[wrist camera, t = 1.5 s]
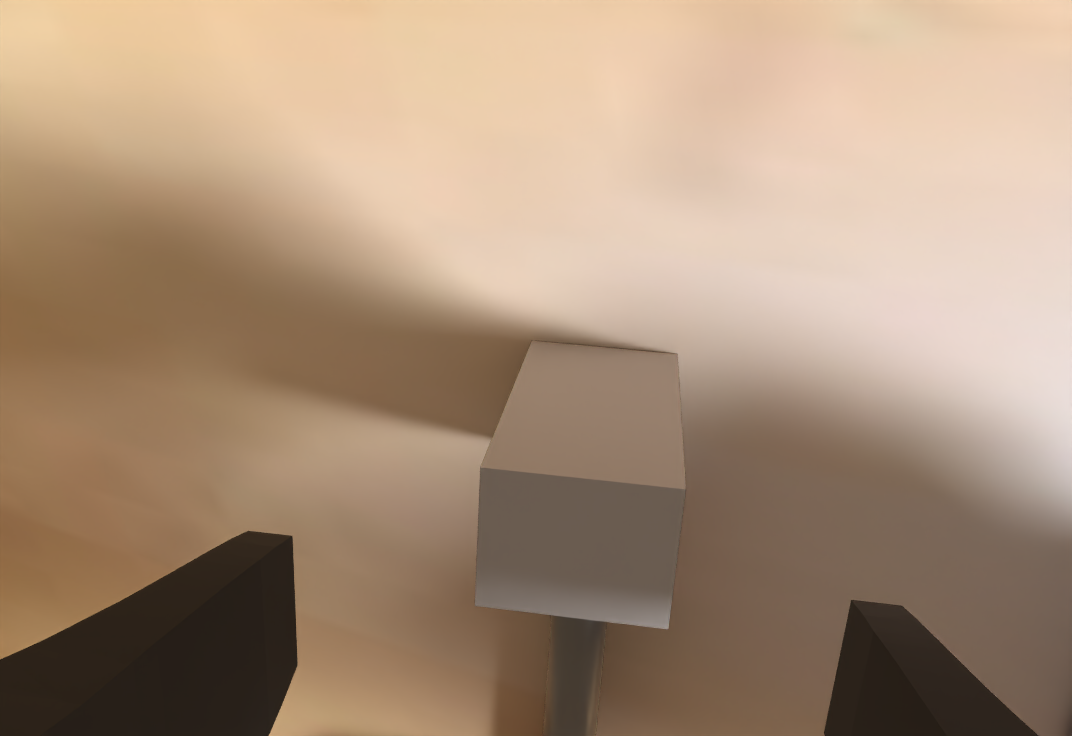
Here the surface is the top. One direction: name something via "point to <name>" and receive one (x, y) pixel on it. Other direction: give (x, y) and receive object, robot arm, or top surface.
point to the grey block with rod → (583, 508)
